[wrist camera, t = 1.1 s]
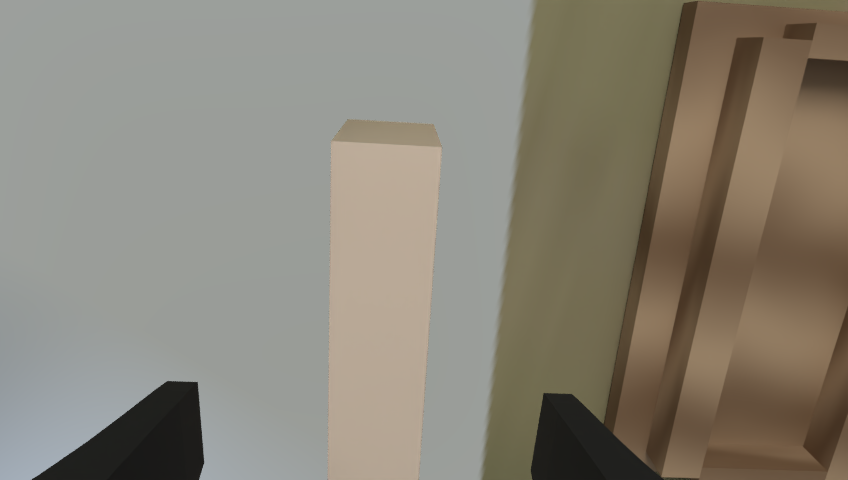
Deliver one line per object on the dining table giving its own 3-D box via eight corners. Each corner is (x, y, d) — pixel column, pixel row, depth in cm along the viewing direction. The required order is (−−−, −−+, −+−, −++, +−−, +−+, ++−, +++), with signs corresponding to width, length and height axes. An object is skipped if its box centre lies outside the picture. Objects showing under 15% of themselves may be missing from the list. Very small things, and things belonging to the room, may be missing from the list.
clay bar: (414, 414, 24) (417, 502, 20) (342, 411, 24) (327, 500, 19) (433, 123, 21) (442, 147, 16) (348, 118, 20) (331, 140, 16)
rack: (845, 462, 26) (889, 505, 23) (598, 454, 25) (618, 497, 23) (998, 26, 20) (1078, 23, 18) (683, 3, 19) (722, -3, 17)
